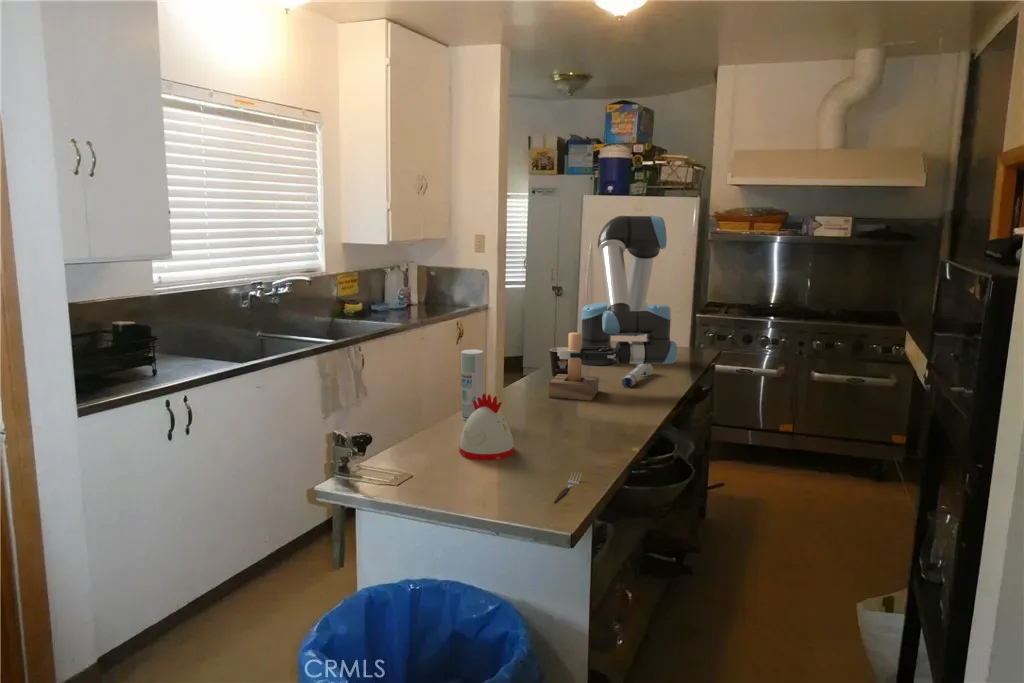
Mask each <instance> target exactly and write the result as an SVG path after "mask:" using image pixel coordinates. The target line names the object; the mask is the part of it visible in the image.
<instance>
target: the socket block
mask: <svg viewBox="0 0 1024 683" xmlns="http://www.w3.org/2000/svg"><path fill="white" fill-rule="evenodd" d="M596 393H599V376H598V375H597V376H595V375H582V374H581V382H572V381H568V375H567V374H557V375H556V376H555V377H554V378H553V377H552V379H551V380H550V381H549V384H548V398H550V397H556V398H555V399H564V398H568V399H567V400H577V399H578V401H579V400H581V401H590V400H592V401H593V399H594V398H595V396H596V395H597V394H596Z"/></svg>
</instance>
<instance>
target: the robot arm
mask: <svg viewBox="0 0 1024 683" xmlns="http://www.w3.org/2000/svg"><path fill="white" fill-rule="evenodd" d="M666 247H667V228H666V222H665V220H664V218H663V217H662V216H659V215H658V216H657V215H648V216H647V215H619V216H615V217H613V218H612V219H610V220H609V221H608V222H607V223H606V224H605V225H604V226H603V227H602V229H601V231H600V233H599V235H598V238H597V252H598V254H599V255H600V256H601V261H602V263H601V264H602V272H603V280H604V289H605V299H606V301H605V302H594V303H590V304H586V305H584V306H583V307H582V309H581V317H580V318H581V332H580V333H582V349H580V350H568V347H557V348H558V354H557V356H560V359H583V361H582V362H581V365H587V366H607V365H613V364H614V363H615V362H616V363H617V364H618V365H628V364H631V365H635V366H636V367H637V366H638V365H639V364H651V365H666V364H674V363H675V362H676V360H677V358H678V346H677V343H676V342H675V341H674V340H673V341H672V340H671V337H670V336H671V321H672V318H671V317H672V316H671V315H672V314H671V307H670V306H669V305H665V304H648V303H647V296H648V292H649V291H648V290H649V285H650V282H651V281H650V280H651V276H652V269H653V266H654V265H653V264H654V259H655V258H656V257H657V256H658V255H659V254H660V251H661V250H665V249H666ZM660 249H661V250H660ZM626 250H627V251H628V253H629V254H630V257H629V260H628V261H629V262H628V269H627V271H626V264H625V263H626V262H625V257H624V253H625V251H626ZM645 335H646V340H645V341H642V340H637V341H636V340H633V341H632V340H631V341H626V340H625V341H623V340H622V341H621V340H620V341H617V343H616V344H615V347H612V343H611V341H612V340H611V339H612V337H614V336H615V337H618V336H619V337H628V336H629V337H638V336H645Z"/></svg>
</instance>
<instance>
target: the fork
mask: <svg viewBox="0 0 1024 683" xmlns="http://www.w3.org/2000/svg"><path fill="white" fill-rule="evenodd" d="M576 473H577V475H576ZM573 474H574V475H573ZM579 474H580V475H579ZM582 474H583V472H581V473H580V472H579V471H578V472H577V471H575V472H574V471H572V472H571V475H570V477H569V479H568V481H567V482H568V483H570V484H567V487H566V488H564V489H563V490H561V491H560V493H559V494H558V496H557V497H556V499H555V500H554V502H553V503H557V502H558V501H560V499H562V498H564V496H566V494H567V493H568V491H569V490H570V488H571V487H574V485H573V484H580V481H581V477H582ZM575 477H576V478H575Z"/></svg>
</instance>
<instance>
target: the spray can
mask: <svg viewBox="0 0 1024 683" xmlns="http://www.w3.org/2000/svg"><path fill="white" fill-rule="evenodd" d="M460 373H461V376H460V377H461V381H460V382H461V383H460V385H461V386H460V387H461V419H462V421H465V422H466V421H467V420H468V418H469V417H470V415H471V414H472V413H473V412H474V411H476V410H475V407H474V404H473V401H476V403H477V405H478V399H477V398H478V397H480V398H481V400H482V396H483V394H484V351H483V350H481V349H465V350H461V351H460Z"/></svg>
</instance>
